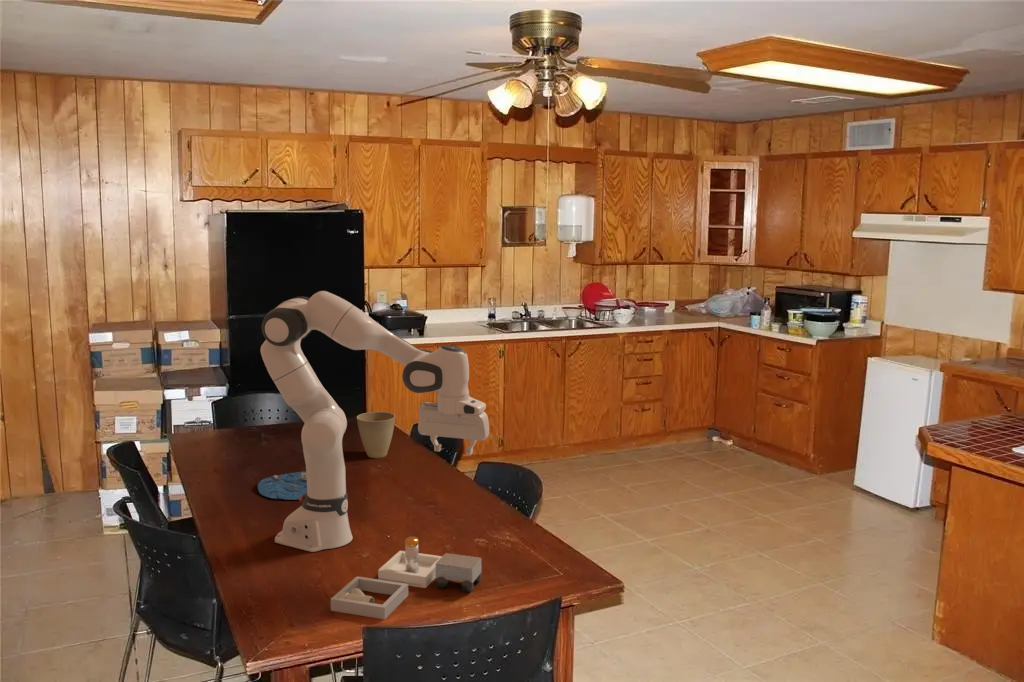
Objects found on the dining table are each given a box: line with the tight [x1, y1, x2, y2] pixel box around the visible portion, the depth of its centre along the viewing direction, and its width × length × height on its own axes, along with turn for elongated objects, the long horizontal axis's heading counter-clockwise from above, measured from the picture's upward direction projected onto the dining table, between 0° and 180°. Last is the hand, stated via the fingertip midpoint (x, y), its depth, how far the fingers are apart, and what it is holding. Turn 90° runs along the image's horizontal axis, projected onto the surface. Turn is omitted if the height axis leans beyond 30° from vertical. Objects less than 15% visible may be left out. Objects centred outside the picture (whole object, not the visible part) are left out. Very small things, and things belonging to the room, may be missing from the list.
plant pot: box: [356, 411, 396, 459], centre depth 330 cm, size 15×15×16 cm
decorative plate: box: [257, 471, 307, 501], centre depth 294 cm, size 30×30×5 cm
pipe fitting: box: [339, 588, 375, 603], centre depth 206 cm, size 8×4×7 cm
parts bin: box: [330, 576, 409, 620], centre depth 208 cm, size 14×13×3 cm
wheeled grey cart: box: [434, 552, 483, 594], centre depth 221 cm, size 10×14×6 cm
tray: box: [377, 550, 443, 589], centre depth 224 cm, size 13×13×3 cm
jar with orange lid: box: [404, 536, 420, 573], centre depth 224 cm, size 4×4×9 cm
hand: (453, 452), depth 235 cm, fingers open, 8 cm apart
